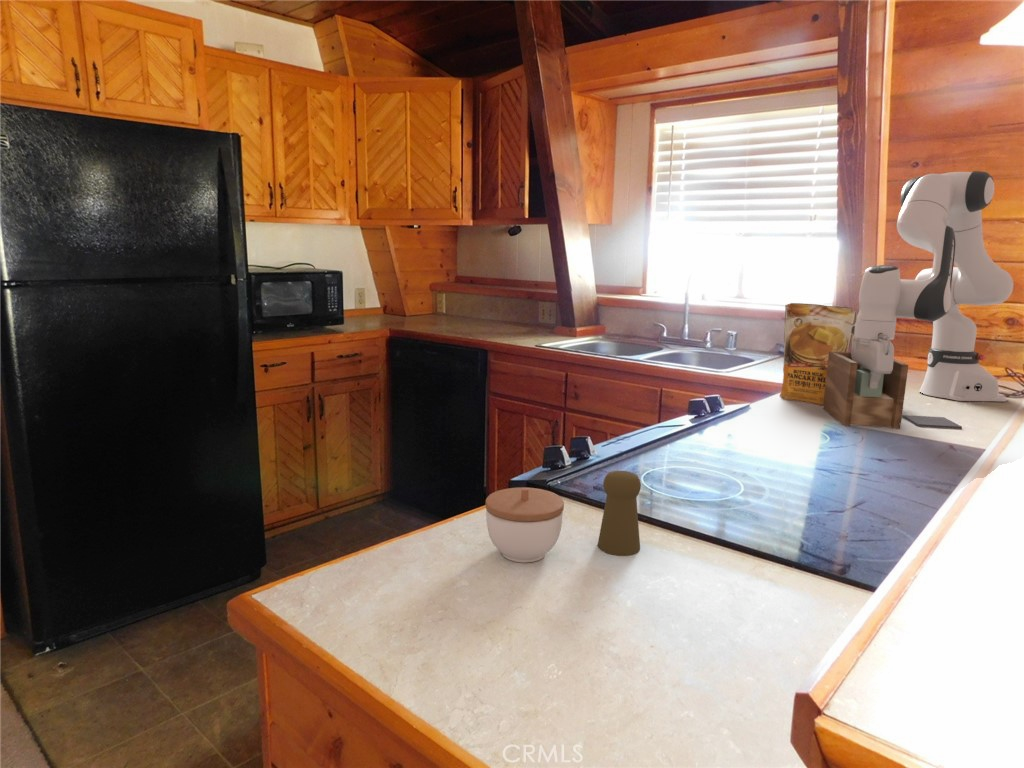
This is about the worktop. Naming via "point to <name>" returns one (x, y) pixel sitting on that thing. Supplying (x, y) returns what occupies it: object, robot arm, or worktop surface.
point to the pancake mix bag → (812, 348)
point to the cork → (620, 514)
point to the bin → (863, 409)
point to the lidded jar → (524, 522)
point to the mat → (931, 422)
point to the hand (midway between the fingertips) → (868, 385)
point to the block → (862, 384)
